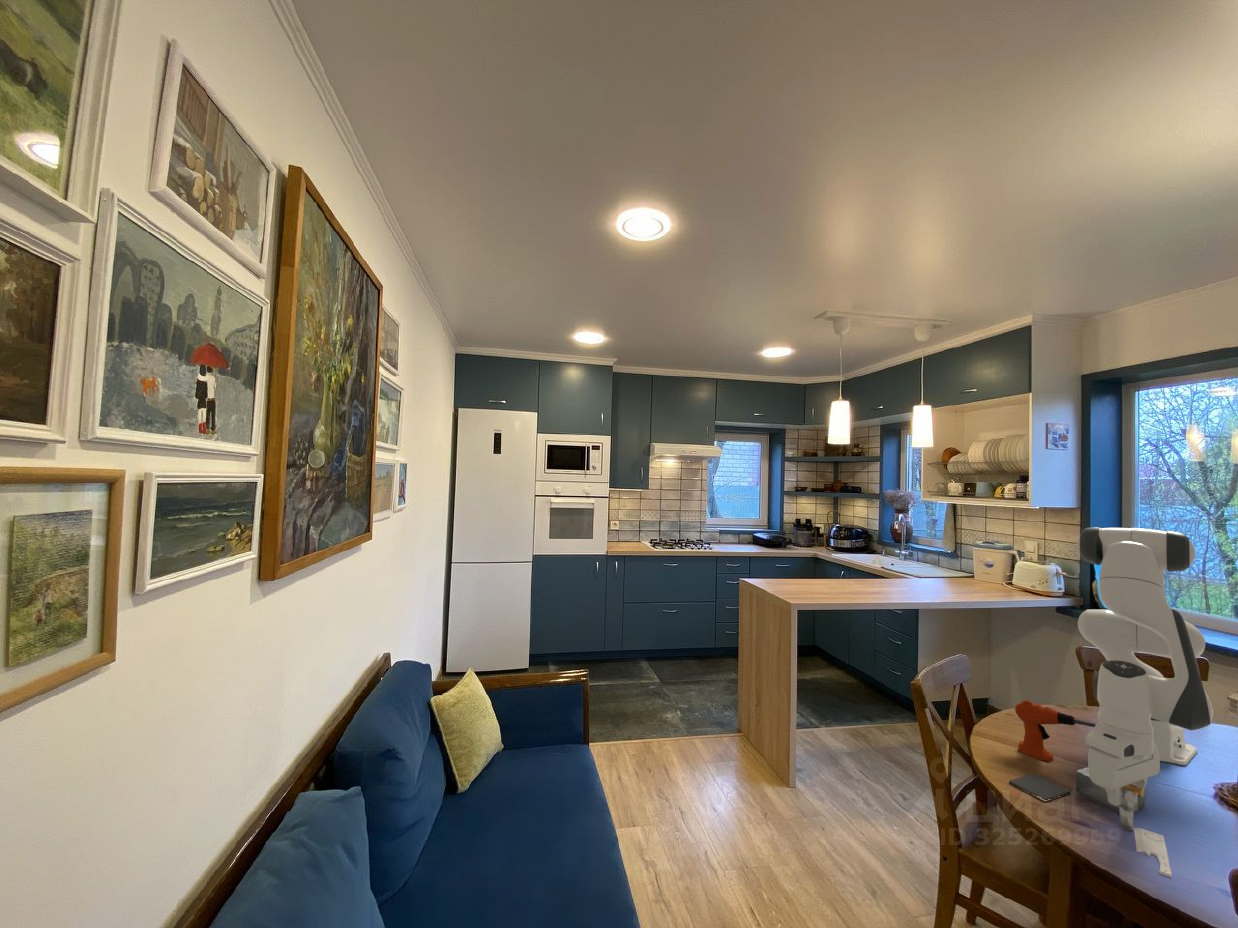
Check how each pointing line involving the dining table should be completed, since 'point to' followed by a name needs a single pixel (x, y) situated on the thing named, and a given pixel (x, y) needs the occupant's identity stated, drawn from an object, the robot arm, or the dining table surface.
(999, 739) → the dining table surface
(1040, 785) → the rubber mat
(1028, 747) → the toy drill
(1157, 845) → the cream flat piece
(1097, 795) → the block
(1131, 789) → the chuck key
